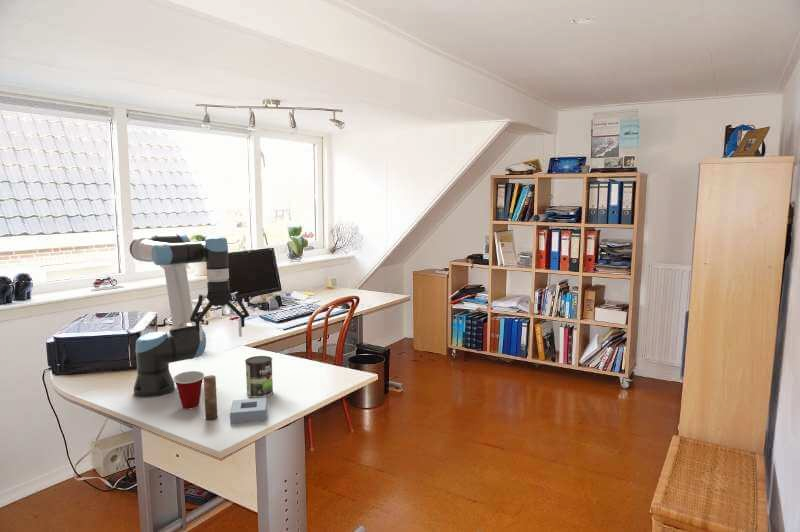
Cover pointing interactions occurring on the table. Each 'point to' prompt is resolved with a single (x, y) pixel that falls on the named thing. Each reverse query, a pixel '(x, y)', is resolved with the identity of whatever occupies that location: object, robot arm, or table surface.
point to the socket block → (248, 410)
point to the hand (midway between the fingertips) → (221, 338)
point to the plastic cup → (189, 388)
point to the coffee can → (259, 376)
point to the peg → (210, 397)
